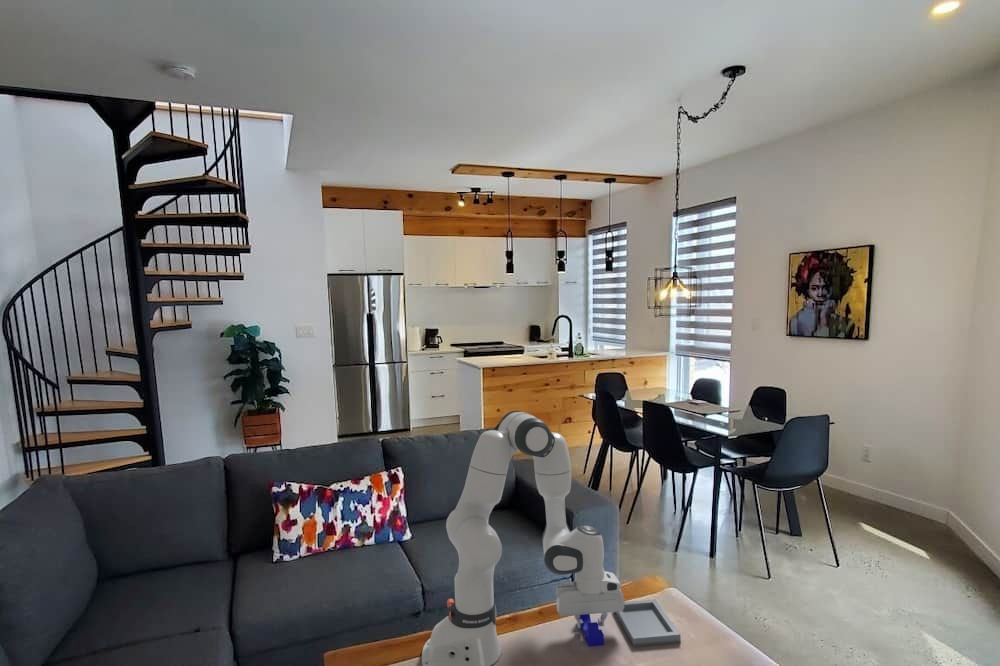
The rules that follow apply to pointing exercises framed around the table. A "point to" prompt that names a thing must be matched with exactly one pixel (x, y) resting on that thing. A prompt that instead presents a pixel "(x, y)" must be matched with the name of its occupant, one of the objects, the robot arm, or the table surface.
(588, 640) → the blue angular stepped piece
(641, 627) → the tray
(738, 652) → the table surface
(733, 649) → the table surface
